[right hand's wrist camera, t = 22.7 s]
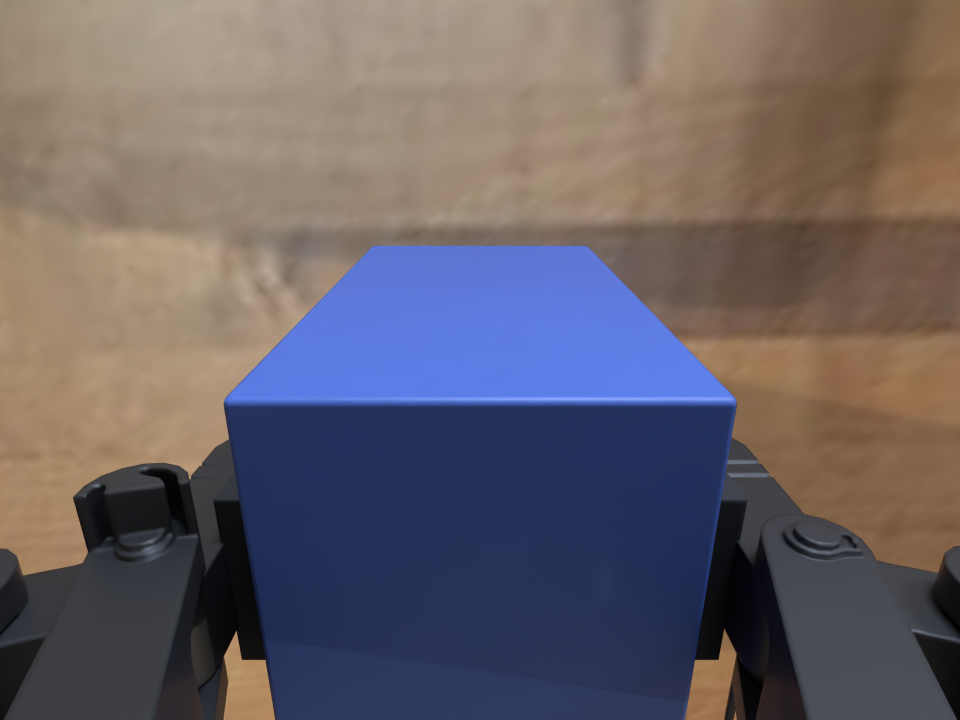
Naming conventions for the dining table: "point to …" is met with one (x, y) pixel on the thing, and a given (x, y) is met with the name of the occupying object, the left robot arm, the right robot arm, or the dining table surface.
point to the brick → (480, 493)
